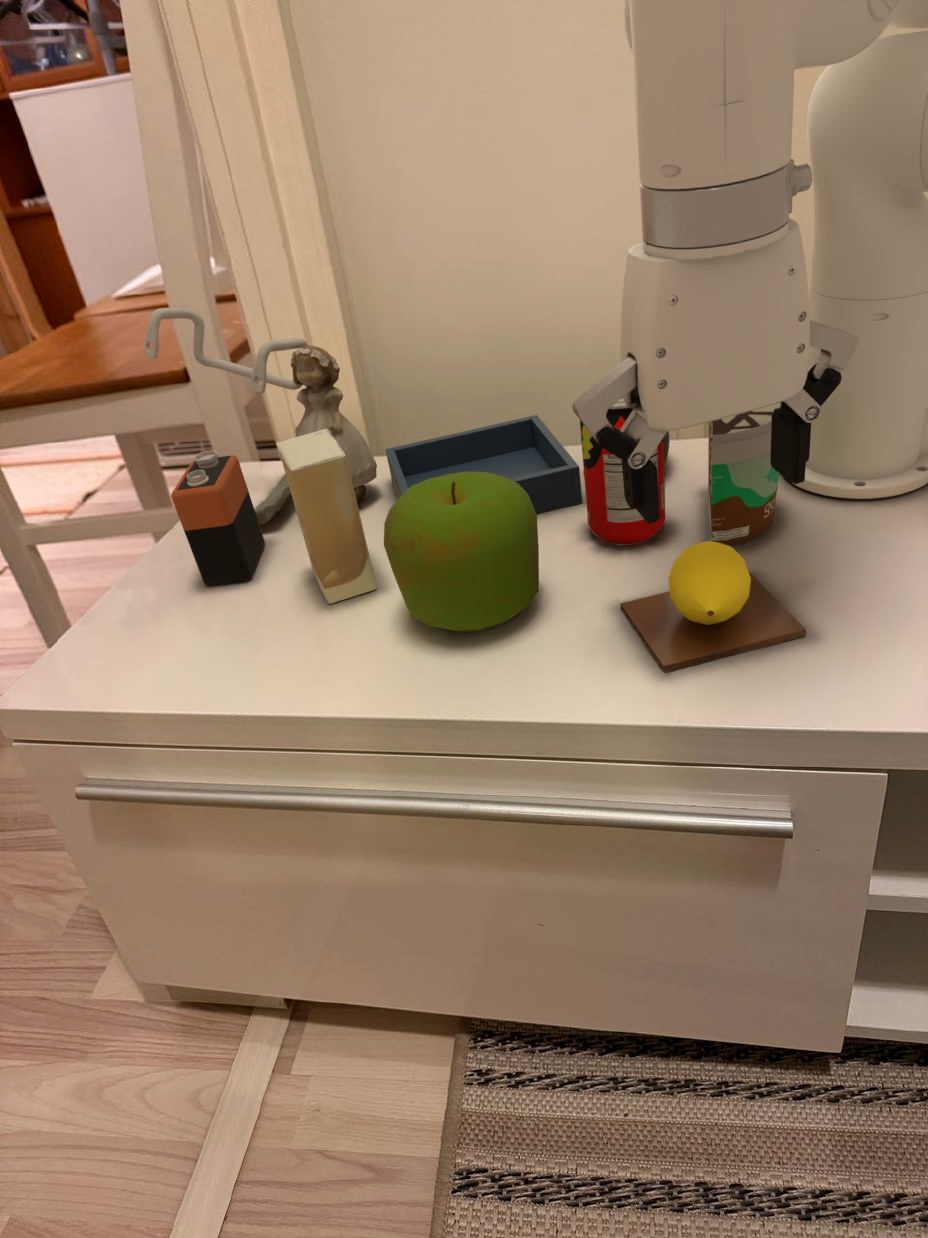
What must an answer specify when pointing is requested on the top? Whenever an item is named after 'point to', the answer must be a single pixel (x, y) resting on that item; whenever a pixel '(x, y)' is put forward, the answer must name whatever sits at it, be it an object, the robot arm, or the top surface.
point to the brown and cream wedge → (741, 477)
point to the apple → (464, 550)
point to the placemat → (709, 628)
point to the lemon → (709, 583)
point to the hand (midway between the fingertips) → (716, 493)
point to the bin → (495, 461)
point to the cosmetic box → (328, 514)
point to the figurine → (330, 412)
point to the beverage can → (616, 488)
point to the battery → (218, 518)
